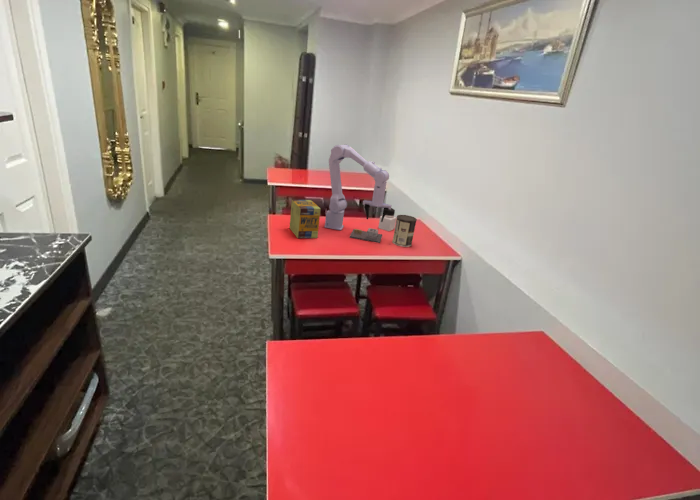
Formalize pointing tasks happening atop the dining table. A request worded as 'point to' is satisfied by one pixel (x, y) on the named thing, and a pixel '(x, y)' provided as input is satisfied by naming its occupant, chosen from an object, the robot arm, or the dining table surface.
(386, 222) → the medicine bottle
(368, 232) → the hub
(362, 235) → the shaft block
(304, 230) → the protein box
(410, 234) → the coffee can
